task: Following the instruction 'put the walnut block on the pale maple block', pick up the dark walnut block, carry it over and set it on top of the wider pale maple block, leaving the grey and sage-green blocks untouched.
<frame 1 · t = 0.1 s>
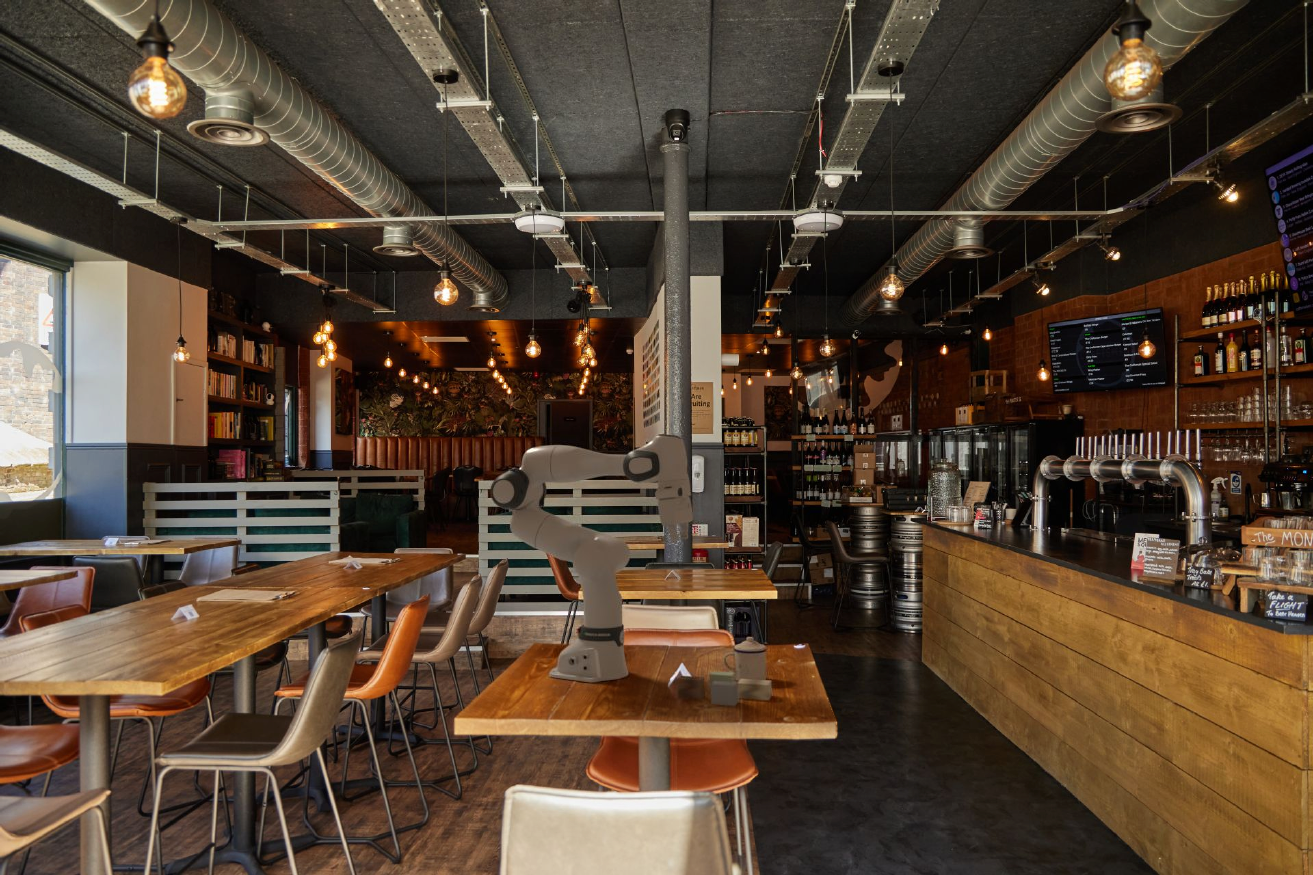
hand: (679, 540, 239), 39 cm above the table, tool pointing down, fingers open, 8 cm apart
grey block: (724, 703, 215), on the table
maple block: (754, 697, 220), on the table
walnut block: (691, 697, 220), on the table
teacup with lid: (745, 680, 238), on the table
sage block: (722, 692, 225), on the table
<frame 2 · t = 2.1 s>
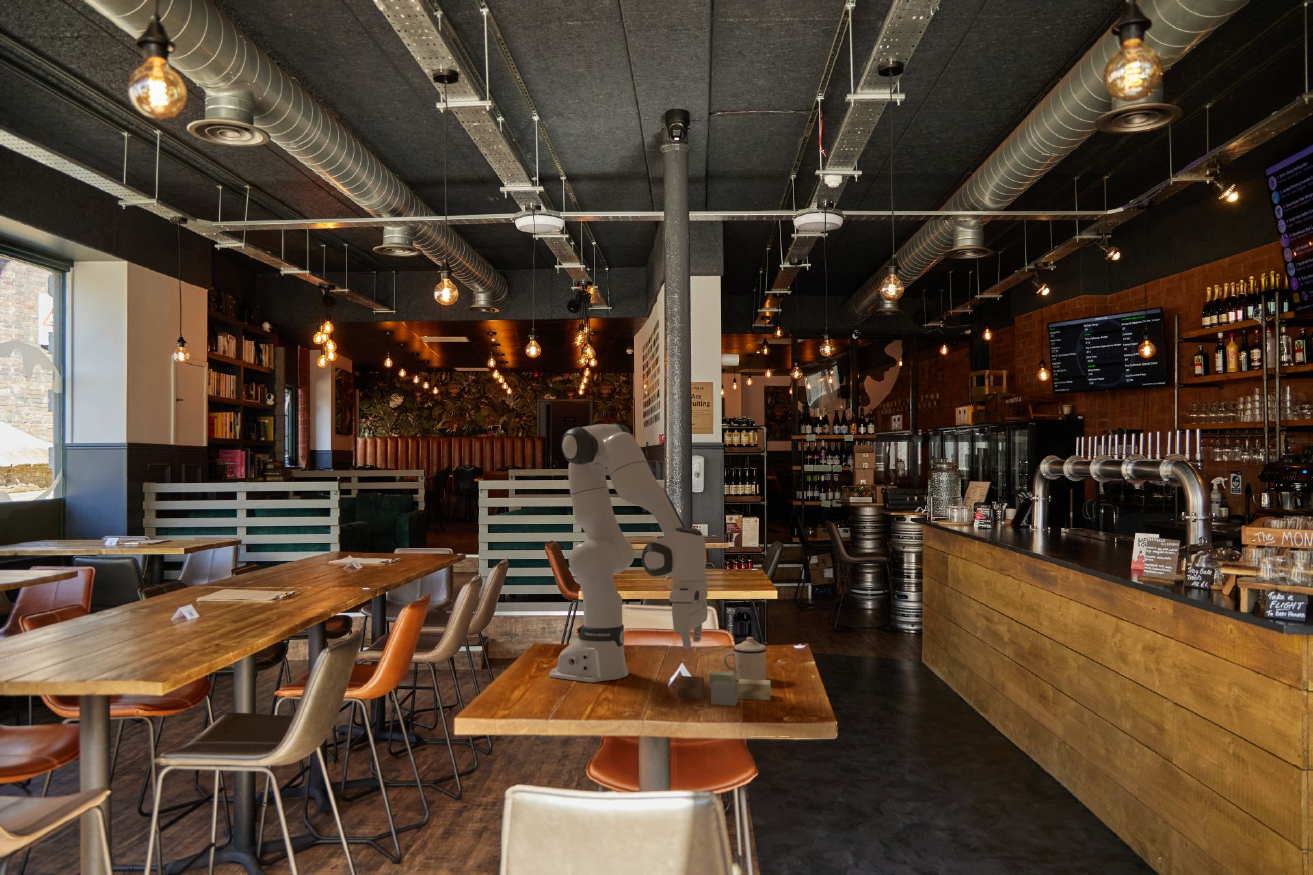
hand: (692, 644, 221), 13 cm above the table, tool pointing down, fingers open, 8 cm apart
nothing on the table moved.
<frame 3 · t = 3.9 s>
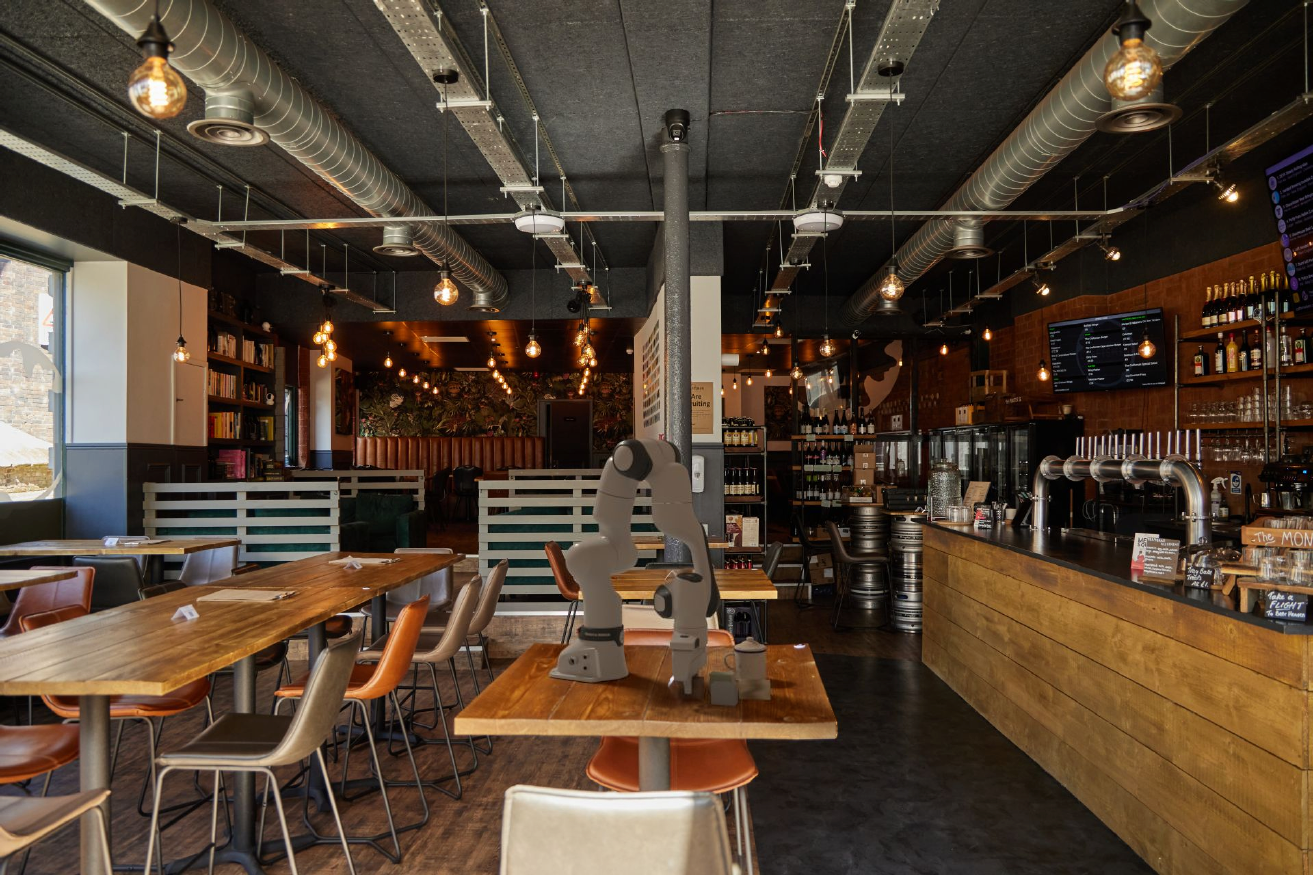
hand: (691, 690, 221), 2 cm above the table, tool pointing down, fingers closed on walnut block, 3 cm apart
walnut block: (691, 697, 220), on the table, touching gripper
everything else where it was.
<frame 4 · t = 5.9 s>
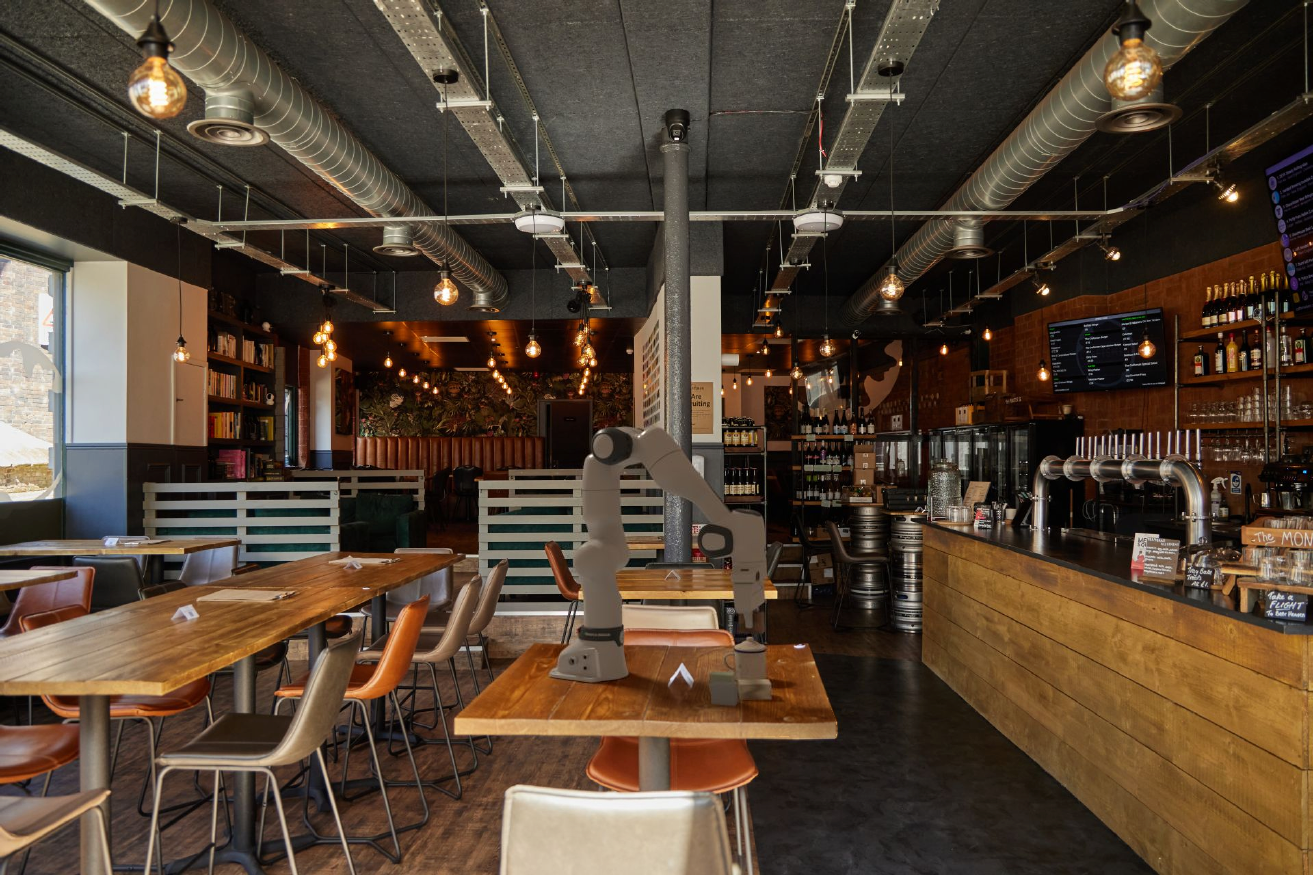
hand: (751, 625, 221), 18 cm above the table, tool pointing down, fingers closed on walnut block, 3 cm apart
walnut block: (752, 632, 221), point 17 cm above the table, touching gripper
everything else where it was.
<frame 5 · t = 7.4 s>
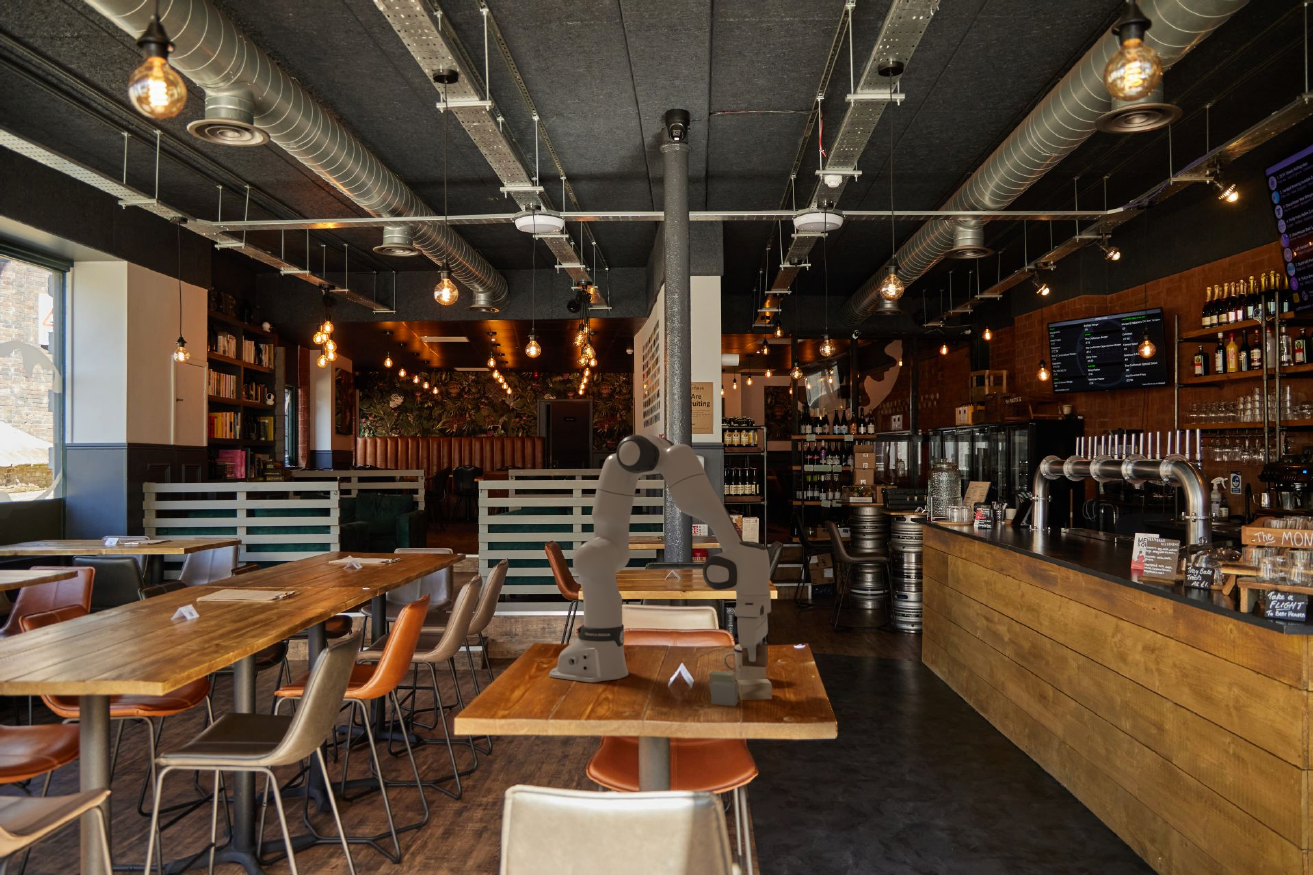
hand: (754, 658, 221), 10 cm above the table, tool pointing down, fingers closed on walnut block, 3 cm apart
walnut block: (755, 665, 221), point 8 cm above the table, touching gripper
everything else where it was.
when the fingers open (7 cm above the table, at t = 8.2 s): walnut block drops 2 cm, point 4 cm above the table.
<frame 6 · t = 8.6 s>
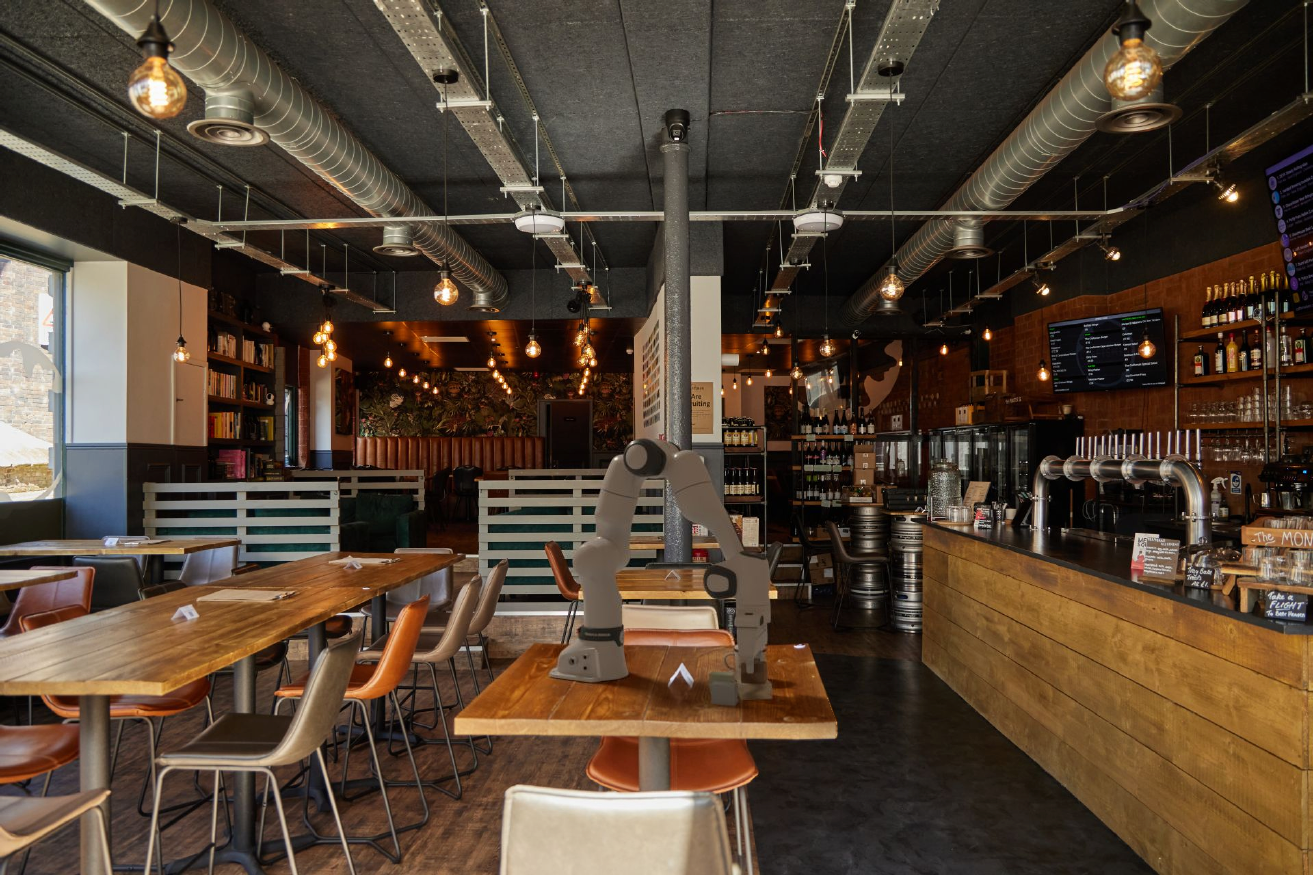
hand: (754, 668, 221), 7 cm above the table, tool pointing down, fingers open, 8 cm apart
walnut block: (754, 681, 221), point 4 cm above the table
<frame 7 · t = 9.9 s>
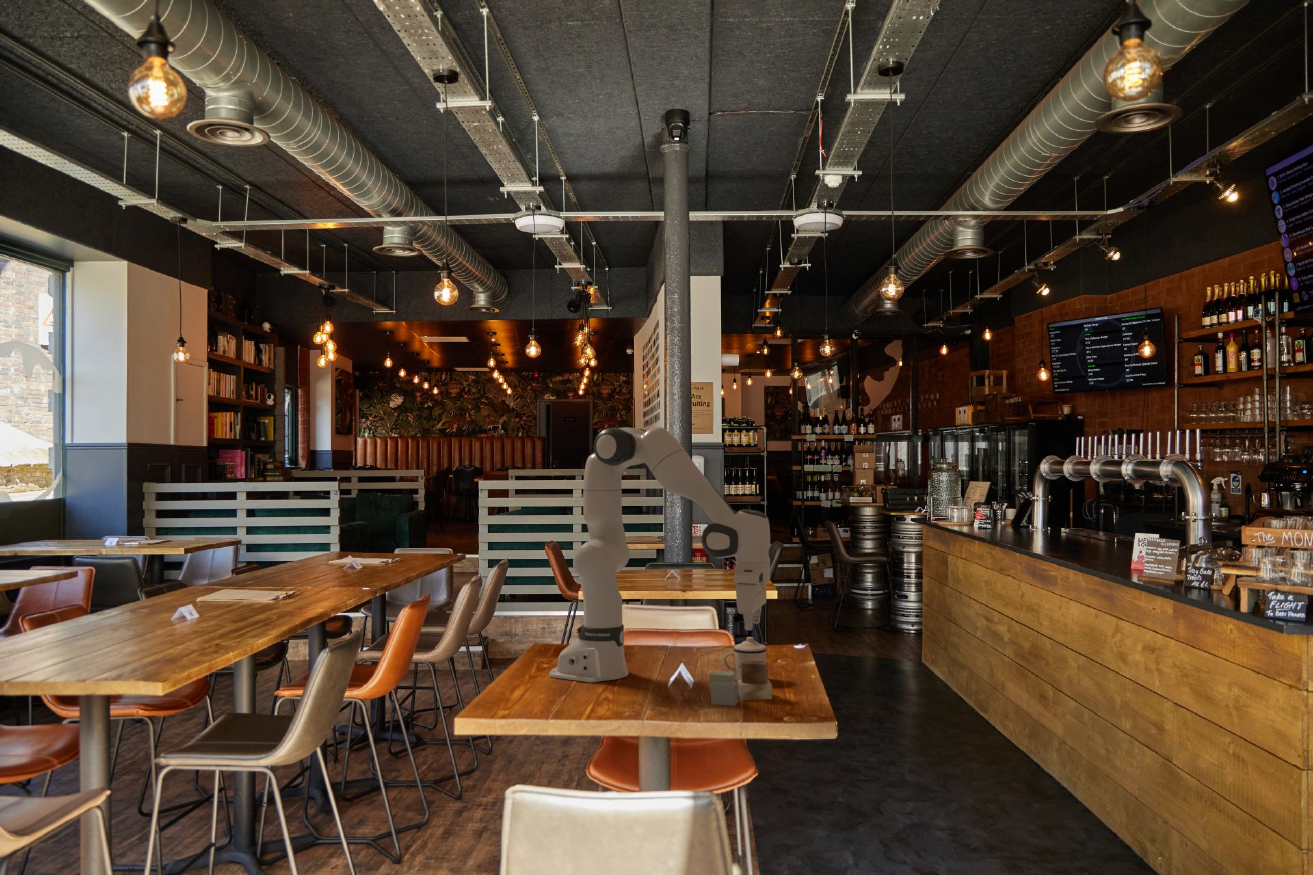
hand: (752, 626, 221), 18 cm above the table, tool pointing down, fingers open, 8 cm apart
nothing on the table moved.
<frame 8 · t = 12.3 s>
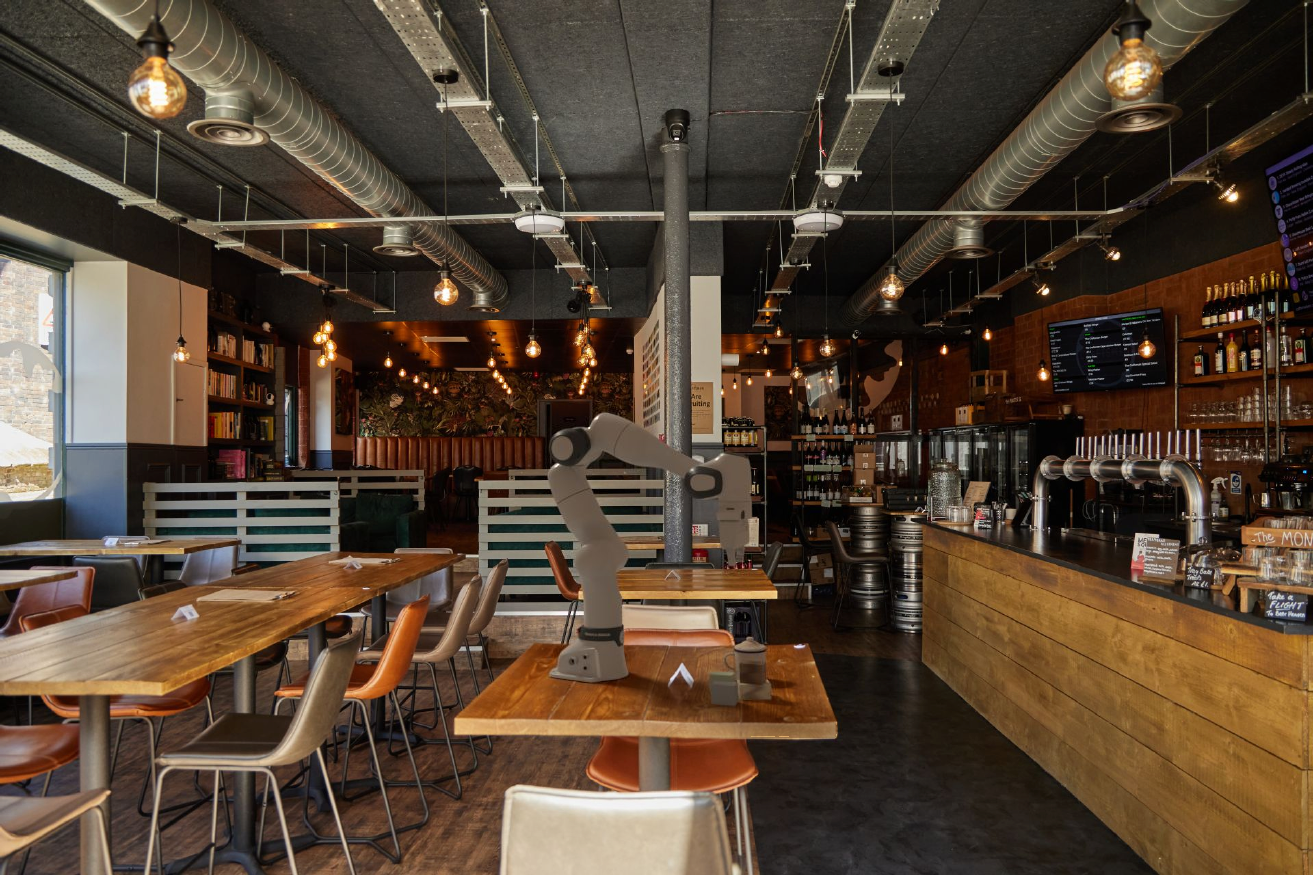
hand: (736, 563, 230), 33 cm above the table, tool pointing down, fingers open, 8 cm apart
at the end: walnut block 0.2 cm off-centre on the maple block, point 4.0 cm above the maple block's base; grey block moved 0.1 cm from its start; sage block moved 0.1 cm from its start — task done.
